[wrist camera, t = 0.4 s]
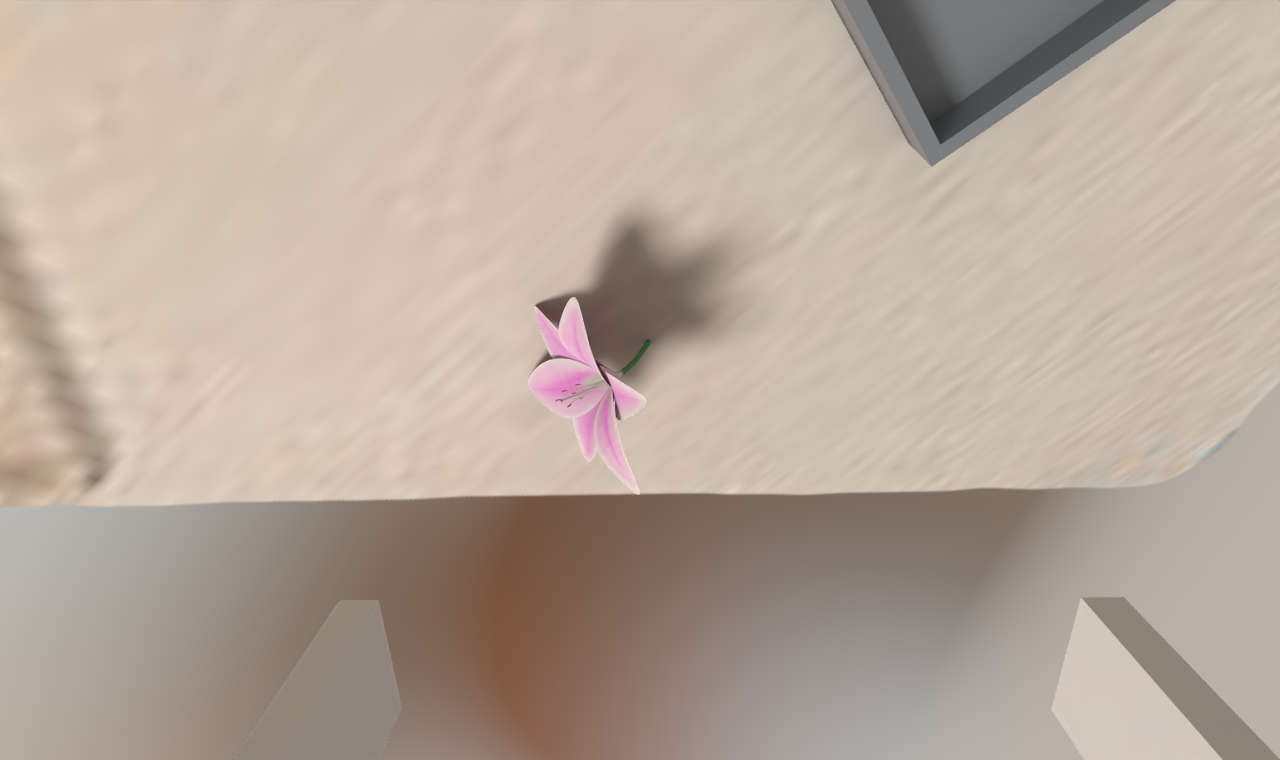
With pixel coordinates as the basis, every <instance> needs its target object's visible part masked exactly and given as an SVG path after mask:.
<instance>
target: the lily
mask: <svg viewBox="0 0 1280 760" xmlns="http://www.w3.org/2000/svg"><path fill="white" fill-rule="evenodd" d="M534 312H535V316H536V320H537V323H538V326H539V329H540V332H541V335H542V338H543V340H544V343H545V345H546V347H547V349H548V351H549V353H550V355H551V357H552V360H548V361H546V362H544V363H542V364H540V365H539V366H538V367H537V368H536V369H535V370H534V371H533V372H532V373H531V375H530V377H529V379H528V384H529V388H530V390H531V392H532V393H533V394H534V395H535V397H536V398H537V399H538V400H539V401H540V402H541V403H542V404H543V405H545V406H546V407H547V408H548V409H550V410H551V411H552V412H554V413H556V414H557V415H559V416H562V417H565V418H572V419H573V425H574V429H575V433H576V436H577V440H578V442H579V445H580V448H581V450H582V453H583V455H584V457H585V459H586V460H587V461H588V462H589V463H590V462H591V461H592V459H593V457H594V455H595V453H596V451H597V449H598V452H599V454H600V456H601V458H602V459H603V461H604V462H605V463H606V465H607V466H608V467H609V469H610V470H611V471H612V472H613V473H614V474H615V475H616V476H617V478H618V479H619V480H621V481H622V482H623V483H624V484H625V485H626V486H627V487H628V488H629V489H630V490H632V491H633V492H634V493H636V494H639V488H638V485H637V483H636V480H635V478H634V475H633V473H632V471H631V468H630V466H629V463H628V461H627V458H626V456H625V453H624V450H623V447H622V444H621V440H620V437H619V432H618V428H617V423H616V418H617V419H618V420H624V419H627V418H629V417H631V416H632V415H634V414H636V413H637V412H638V411H640V410H641V409H642V408H643V407H644V406H645V405H646V402H647V400H646V399H645V398H644V397H643V396H642V395H641V394H639V393H638V392H636V391H635V390H633V389H632V388H630V387H629V386H627V385H626V384H624V383H623V382H621V381H620V380H619V379H620V377H621V376H622V375H624V374H625V373H626V372H627V371H628V370H629V369H630V368H632V367H633V366H634V365H635V364H636V362H637V361H638V360H639V359H640V357H641V356H642V355H643V353H644V352H645V350H646V349H647V348H648V346H649V345H650V343H651V341H650V340H647V341H646V343H645V344H644V346H643V347H642V349H641V350H640V351H639V353H638V354H637V355H636V356H635V358H634V359H633V360H632V361H631V362H630V363H629V364H628V365H627V366H626V367H625V368H623V369H622V370H620V371H619V372H617V373H615V372H613V371H611V370H610V369H608V368H607V367H605V366H604V365H602V364H601V363H599V362H598V361H596V360H595V359H594V357H593V355H592V352H591V349H590V345H589V341H588V338H587V334H586V330H585V326H584V321H583V317H582V313H581V310H580V306H579V303H578V301H577V299H576V297H571V299H570V300H569V301H568V303H567V305H566V307H565V309H564V311H563V313H562V317H561V320H560V323H559V330H557V328H556V327H555V326H554V325H553V324H552V323H551V322H550V321H549V320H548V319H547V318H546V317H545V316H544V314H543V313H542V312H541V311H540V310H539V309H538V308H537V307H536V306H535V308H534ZM614 397H615V411H614V404H613V402H614ZM615 412H616V417H615Z"/></svg>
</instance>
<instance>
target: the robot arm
mask: <svg viewBox="0 0 1280 760" xmlns="http://www.w3.org/2000/svg"><path fill="white" fill-rule="evenodd" d="M401 709H402V706H401V701H400V697H399V692H398V688H397V683H396V679H395V674H394V669H393V665H392V661H391V656H390V651H389V647H388V642H387V638H386V633H385V628H384V624H383V619H382V615H381V610H380V606H379V601H339V602H338V603H337V605H336V606H335V608H334V609H333V611H332V612H331V614H330V616H329V617H328V618H327V620H326V621H325V623H324V624H323V626H322V627H321V629H320V630H319V632H318V633H317V635H316V636H315V638H314V639H313V641H312V643H311V644H310V645H309V647H308V648H307V650H306V651H305V653H304V654H303V656H302V657H301V659H300V660H299V662H298V663H297V665H296V666H295V668H294V669H293V671H292V672H291V674H290V675H289V677H288V678H287V680H286V681H285V683H284V684H283V686H282V687H281V689H280V690H279V692H278V693H277V695H276V696H275V698H274V699H273V701H272V702H271V704H270V705H269V707H268V708H267V710H266V711H265V713H264V714H263V716H262V717H261V719H260V720H259V722H258V723H257V725H256V726H255V728H254V729H253V731H252V732H251V734H250V735H249V737H248V738H247V740H246V741H245V743H244V744H243V746H242V747H241V749H240V750H239V752H238V753H237V755H236V756H235V758H234V759H233V760H379V759H380V757H381V754H382V752H383V750H384V748H385V745H386V743H387V741H388V739H389V736H390V734H391V732H392V729H393V727H394V725H395V722H396V720H397V718H398V716H399V713H400V711H401ZM1052 711H1053V713H1054V714H1055V716H1056V717H1057V719H1058V720H1059V722H1060V723H1061V725H1062V726H1063V728H1064V729H1065V731H1066V732H1067V734H1068V735H1069V737H1070V738H1071V740H1072V741H1073V743H1074V745H1075V746H1076V748H1077V749H1078V751H1079V752H1080V754H1081V755H1082V757H1083V758H1084V760H1280V759H1279V758H1278V757H1277V756H1276V755H1275V754H1274V753H1273V752H1272V751H1271V750H1270V749H1269V748H1268V747H1267V745H1266V744H1265V743H1264V742H1263V741H1262V740H1261V739H1260V738H1259V737H1258V736H1257V735H1256V734H1255V733H1254V732H1253V731H1252V730H1251V729H1250V728H1249V727H1248V726H1247V725H1246V724H1245V723H1244V722H1243V720H1242V719H1241V718H1240V717H1238V715H1237V714H1236V713H1235V712H1234V711H1233V710H1232V709H1231V708H1230V707H1229V706H1228V705H1227V704H1226V703H1225V702H1224V701H1223V700H1222V699H1221V698H1220V697H1219V696H1218V694H1217V693H1216V692H1214V690H1213V689H1212V688H1211V687H1210V686H1209V685H1208V684H1207V683H1206V682H1205V681H1204V680H1203V679H1202V678H1201V677H1200V676H1199V675H1198V674H1197V673H1196V672H1195V671H1194V670H1193V669H1192V668H1191V667H1190V665H1189V664H1188V663H1187V662H1186V661H1185V660H1184V659H1183V658H1182V657H1181V656H1180V655H1179V654H1178V653H1177V652H1176V651H1175V650H1174V649H1173V648H1172V647H1171V646H1170V645H1169V644H1168V643H1167V642H1166V641H1165V639H1164V638H1163V637H1162V636H1161V635H1160V634H1159V633H1158V632H1157V631H1156V630H1155V629H1154V628H1153V627H1152V626H1151V625H1150V624H1149V623H1148V622H1147V621H1146V620H1145V619H1144V618H1143V617H1142V616H1141V614H1140V613H1139V612H1138V611H1137V610H1136V609H1135V608H1134V607H1133V606H1132V605H1131V604H1130V603H1129V602H1128V601H1127V600H1126V599H1125V598H1124V597H1107V598H1106V597H1099V598H1098V597H1097V598H1096V597H1094V598H1092V597H1090V598H1081V600H1080V604H1079V607H1078V611H1077V615H1076V619H1075V622H1074V627H1073V630H1072V634H1071V637H1070V641H1069V645H1068V649H1067V653H1066V656H1065V660H1064V664H1063V668H1062V671H1061V675H1060V679H1059V683H1058V687H1057V690H1056V694H1055V698H1054V702H1053V705H1052Z"/></svg>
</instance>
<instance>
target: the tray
mask: <svg viewBox="0 0 1280 760" xmlns="http://www.w3.org/2000/svg"><path fill="white" fill-rule="evenodd" d="M831 1H832V3H833V5H834V7H835V9H836V10H837V12H838V14H839V16H840V18H841V20H842V21H843V23H844V25H845V27H846V29H847V31H848V32H849V34H850V36H851V38H852V40H853V42H854V44H855V45H856V47H857V49H858V51H859V53H860V55H861V56H862V58H863V60H864V62H865V64H866V66H867V67H868V69H869V71H870V73H871V75H872V77H873V78H874V80H875V82H876V84H877V86H878V88H879V90H880V91H881V93H882V95H883V97H884V99H885V101H886V102H887V104H888V106H889V108H890V110H891V112H892V113H893V115H894V117H895V119H896V121H897V123H898V124H899V126H900V128H901V130H902V132H903V134H904V136H905V137H906V139H907V141H908V143H909V144H910V145H911V146H912V147H913V148H914V149H915V150H916V151H917V152H918V153H919V154H920V155H921V156H922V157H923V158H924V159H925V160H926V161H927V162H928V163H929V164H930V165H931V166H933V165H935V164H936V163H938V162H939V161H941V160H942V159H944V158H945V157H947V156H948V155H950V154H951V153H953V152H954V151H955V150H957V149H958V148H960V147H961V146H963V145H964V144H966V143H967V142H969V141H970V140H972V139H973V138H975V137H976V136H977V135H979V134H980V133H982V132H983V131H985V130H986V129H988V128H989V127H991V126H992V125H994V124H995V123H997V122H998V121H999V120H1001V119H1002V118H1004V117H1005V116H1007V115H1008V114H1010V113H1011V112H1013V111H1014V110H1016V109H1017V108H1019V107H1020V106H1021V105H1023V104H1024V103H1026V102H1027V101H1029V100H1030V99H1032V98H1033V97H1035V96H1036V95H1038V94H1039V93H1041V92H1042V91H1043V90H1045V89H1046V88H1048V87H1049V86H1051V85H1052V84H1054V83H1055V82H1057V81H1058V80H1060V79H1061V78H1063V77H1064V76H1065V75H1067V74H1068V73H1070V72H1071V71H1073V70H1074V69H1076V68H1077V67H1079V66H1080V65H1082V64H1083V63H1085V62H1086V61H1087V60H1089V59H1090V58H1092V57H1093V56H1095V55H1096V54H1098V53H1099V52H1101V51H1102V50H1104V49H1105V48H1107V47H1108V46H1109V45H1111V44H1112V43H1114V42H1115V41H1117V40H1118V39H1120V38H1121V37H1123V36H1124V35H1126V34H1127V33H1129V32H1130V31H1131V30H1133V29H1134V28H1136V27H1137V26H1139V25H1140V24H1142V23H1143V22H1145V21H1146V20H1148V19H1149V18H1151V17H1152V16H1153V15H1155V14H1156V13H1158V12H1159V11H1161V10H1162V9H1164V8H1165V7H1167V6H1168V5H1170V4H1171V3H1173V2H1174V1H1175V0H831Z"/></svg>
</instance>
